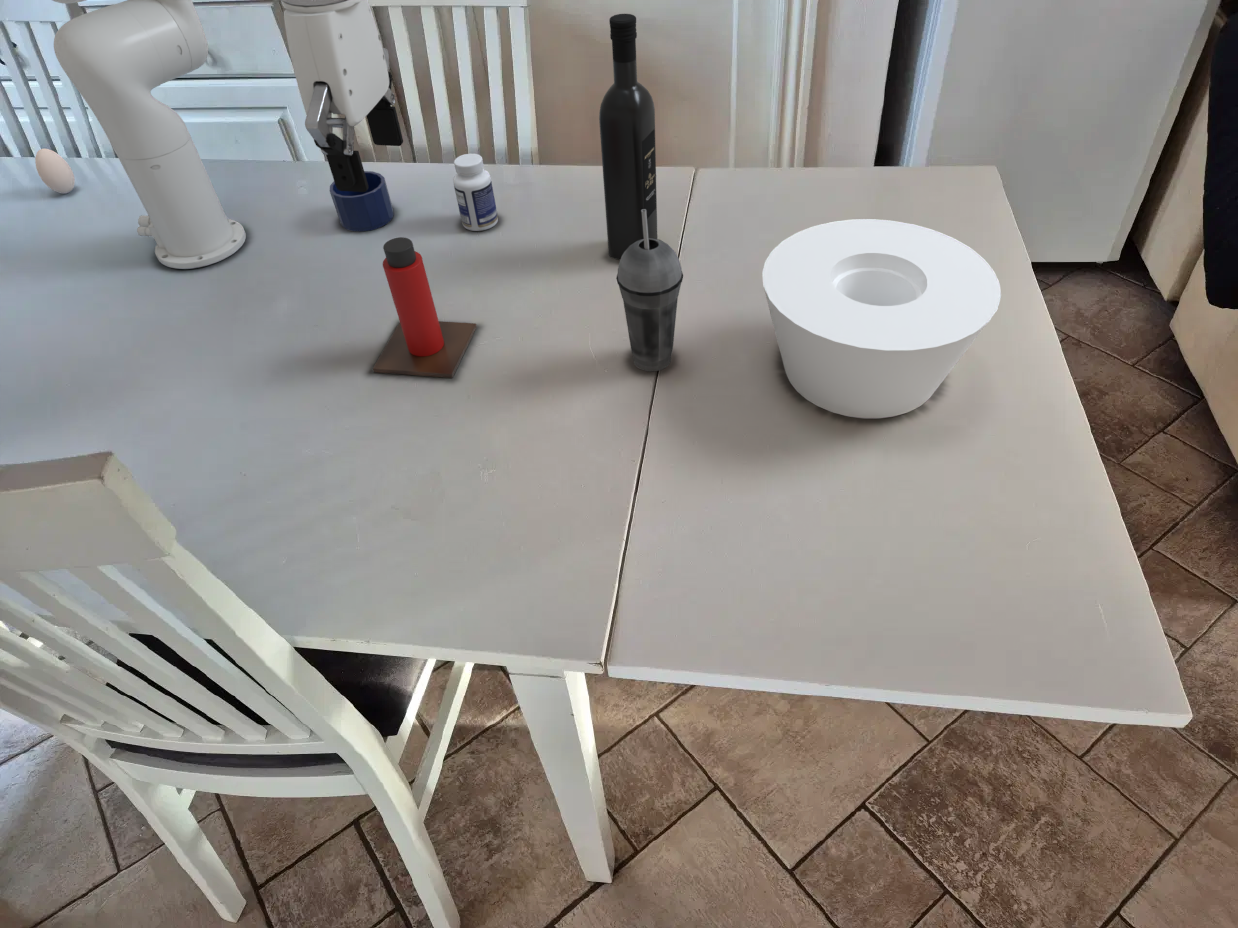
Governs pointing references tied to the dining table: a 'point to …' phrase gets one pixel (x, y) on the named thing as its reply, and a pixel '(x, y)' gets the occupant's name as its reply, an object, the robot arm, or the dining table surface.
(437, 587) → the dining table surface
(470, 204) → the pill bottle
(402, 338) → the coaster
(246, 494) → the dining table surface
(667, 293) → the beverage cup
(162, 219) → the robot arm
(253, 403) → the dining table surface
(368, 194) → the blue cup
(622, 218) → the wine bottle
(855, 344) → the recessed white cone
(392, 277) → the sauce bottle
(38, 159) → the egg
